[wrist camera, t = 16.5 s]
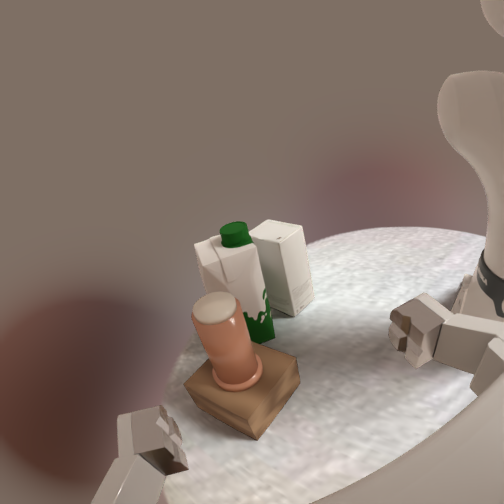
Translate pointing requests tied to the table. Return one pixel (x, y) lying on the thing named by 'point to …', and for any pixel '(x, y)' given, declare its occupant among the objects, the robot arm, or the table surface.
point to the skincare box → (284, 265)
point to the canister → (227, 341)
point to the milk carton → (237, 276)
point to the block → (248, 393)
